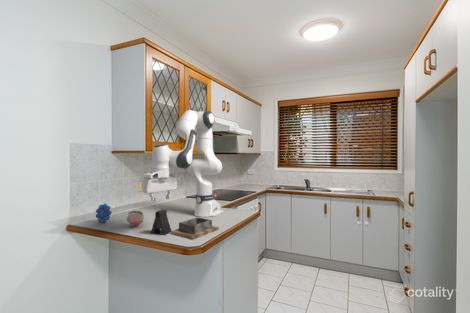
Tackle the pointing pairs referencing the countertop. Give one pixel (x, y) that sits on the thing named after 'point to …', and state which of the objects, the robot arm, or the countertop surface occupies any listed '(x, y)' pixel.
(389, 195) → the countertop surface
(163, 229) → the phone stand
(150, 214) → the countertop surface
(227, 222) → the countertop surface
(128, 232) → the countertop surface
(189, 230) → the socket board
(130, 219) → the decorative fruit
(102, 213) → the grapes
